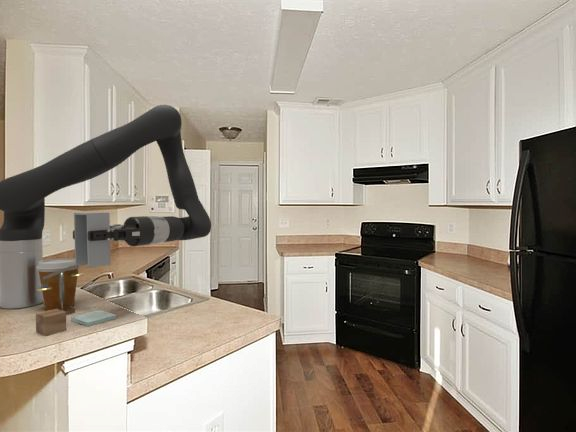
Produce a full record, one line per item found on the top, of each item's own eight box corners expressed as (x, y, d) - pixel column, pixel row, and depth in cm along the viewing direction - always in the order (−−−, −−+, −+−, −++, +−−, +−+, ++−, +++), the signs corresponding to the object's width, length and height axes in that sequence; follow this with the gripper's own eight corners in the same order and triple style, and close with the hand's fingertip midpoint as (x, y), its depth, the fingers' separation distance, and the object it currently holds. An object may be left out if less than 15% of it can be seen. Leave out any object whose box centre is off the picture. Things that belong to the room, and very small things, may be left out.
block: (36, 332, 74) (35, 313, 74) (57, 327, 77) (56, 308, 77) (45, 336, 72) (44, 316, 71) (66, 330, 75) (66, 311, 75)
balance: (33, 317, 83) (32, 268, 83) (80, 306, 92) (79, 262, 92) (41, 320, 81) (40, 269, 81) (88, 309, 90) (88, 263, 90)
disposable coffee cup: (72, 300, 99) (72, 256, 98) (87, 306, 93) (86, 260, 92) (31, 307, 91) (30, 261, 91) (44, 314, 85) (43, 265, 85)
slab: (71, 320, 81) (70, 317, 81) (99, 313, 86) (98, 310, 86) (87, 326, 77) (87, 322, 77) (116, 318, 83) (116, 314, 83)
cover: (75, 265, 81) (73, 212, 80) (96, 262, 85) (95, 212, 85) (88, 268, 78) (87, 213, 78) (110, 264, 82) (109, 212, 82)
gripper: (129, 215, 97) (63, 218, 83) (164, 216, 89) (98, 219, 75) (130, 243, 97) (64, 250, 83) (165, 246, 90) (99, 254, 75)
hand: (81, 235), depth 79 cm, fingers closed on cover, 5 cm apart
